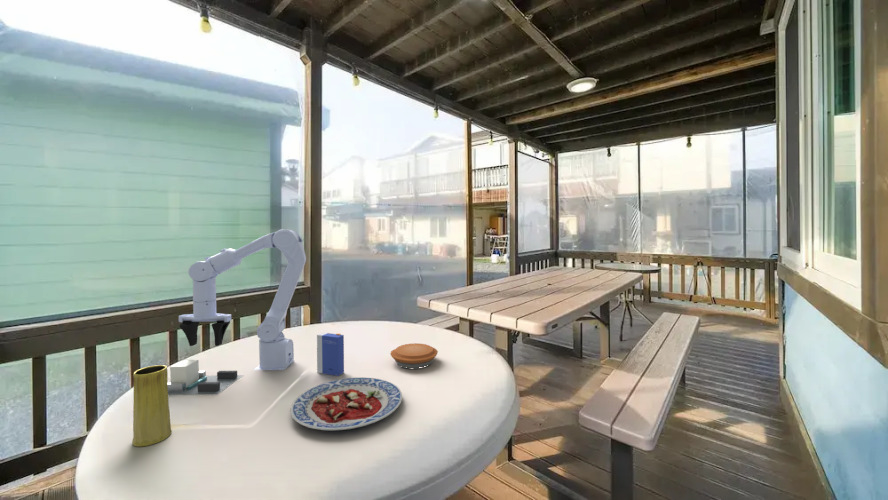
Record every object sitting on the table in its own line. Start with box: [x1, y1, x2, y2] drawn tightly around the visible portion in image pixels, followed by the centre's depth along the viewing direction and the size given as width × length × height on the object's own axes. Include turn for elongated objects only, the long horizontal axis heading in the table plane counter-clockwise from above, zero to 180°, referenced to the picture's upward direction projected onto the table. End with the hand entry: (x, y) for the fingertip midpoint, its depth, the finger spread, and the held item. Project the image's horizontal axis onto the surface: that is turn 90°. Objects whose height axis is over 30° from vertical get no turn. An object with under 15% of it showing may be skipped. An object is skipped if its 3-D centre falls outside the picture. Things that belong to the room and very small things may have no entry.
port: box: [168, 370, 207, 392], centre depth 93 cm, size 7×9×2 cm
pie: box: [389, 342, 439, 368], centre depth 111 cm, size 16×16×5 cm
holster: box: [198, 370, 238, 392], centre depth 93 cm, size 5×9×2 cm, turn 1°
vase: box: [131, 364, 172, 448], centre depth 69 cm, size 6×6×14 cm
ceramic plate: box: [290, 377, 403, 431], centre depth 82 cm, size 26×26×3 cm
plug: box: [169, 359, 200, 388], centre depth 93 cm, size 4×5×6 cm
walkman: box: [316, 332, 345, 377], centre depth 102 cm, size 8×3×12 cm, turn 70°
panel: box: [168, 374, 244, 396], centre depth 93 cm, size 16×12×1 cm
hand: (205, 345), depth 102 cm, fingers open, 7 cm apart
